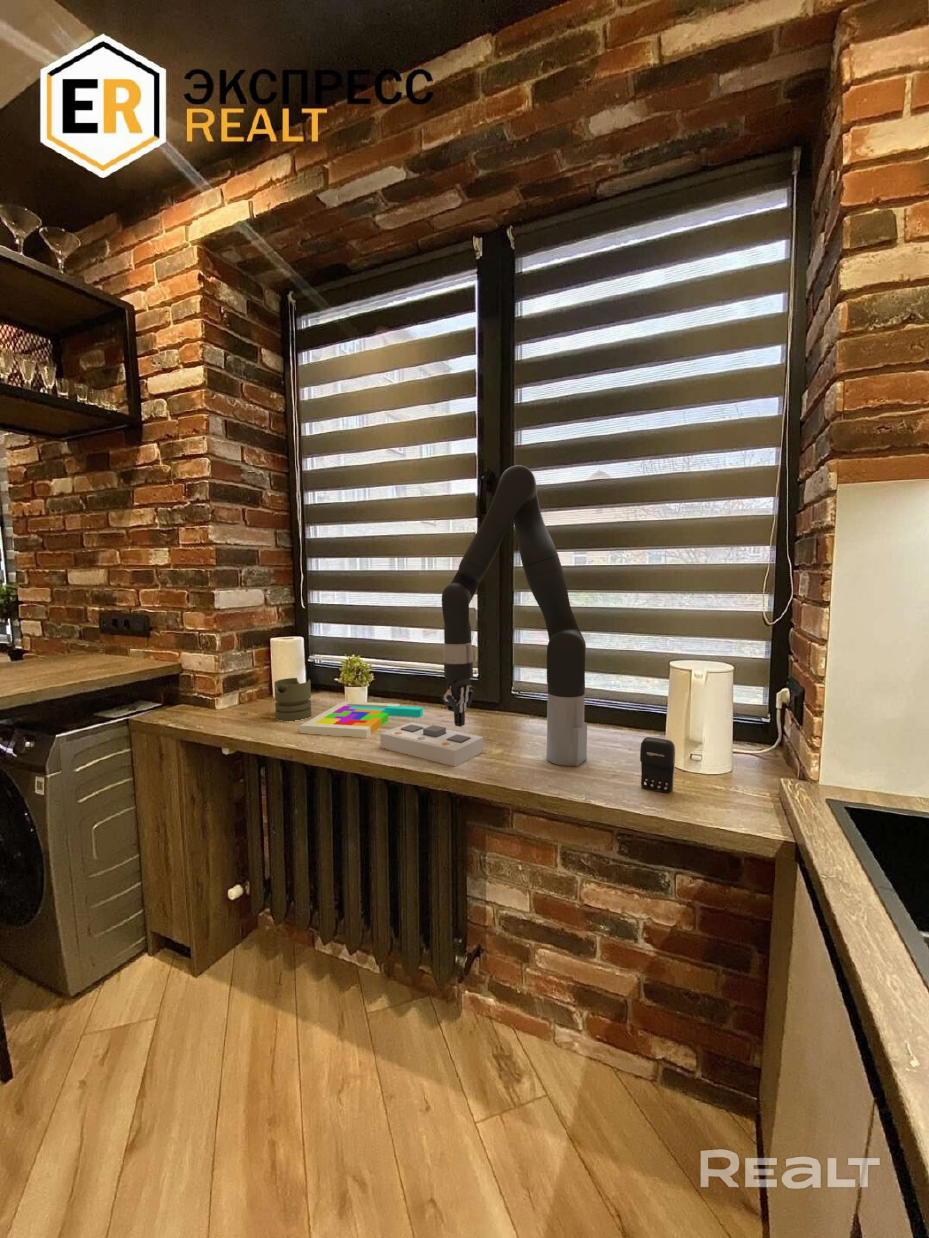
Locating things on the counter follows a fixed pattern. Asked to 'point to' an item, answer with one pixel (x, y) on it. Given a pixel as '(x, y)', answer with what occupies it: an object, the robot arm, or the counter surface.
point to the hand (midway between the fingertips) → (459, 725)
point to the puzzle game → (356, 718)
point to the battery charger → (657, 764)
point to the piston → (292, 699)
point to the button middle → (434, 731)
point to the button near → (458, 738)
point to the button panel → (432, 745)
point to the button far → (411, 728)
